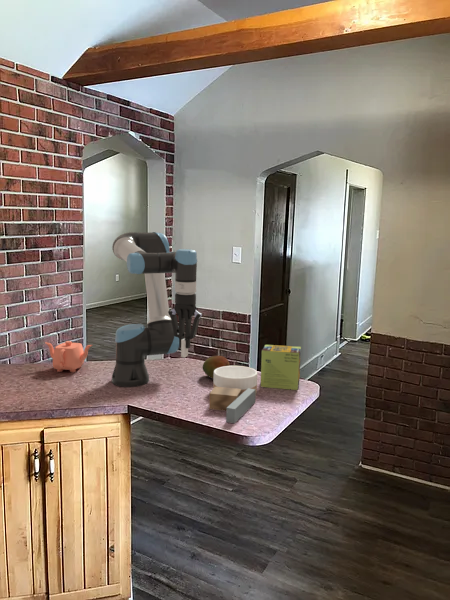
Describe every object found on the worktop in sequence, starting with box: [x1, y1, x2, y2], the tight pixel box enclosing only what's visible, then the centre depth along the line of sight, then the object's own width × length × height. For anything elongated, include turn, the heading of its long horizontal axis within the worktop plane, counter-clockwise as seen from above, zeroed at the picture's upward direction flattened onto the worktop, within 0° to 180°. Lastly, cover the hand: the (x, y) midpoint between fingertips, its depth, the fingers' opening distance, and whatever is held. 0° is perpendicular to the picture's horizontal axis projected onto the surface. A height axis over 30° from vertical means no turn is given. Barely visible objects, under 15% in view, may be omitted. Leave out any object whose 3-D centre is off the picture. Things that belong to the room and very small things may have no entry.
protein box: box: [260, 344, 302, 391], centre depth 212 cm, size 10×15×16 cm
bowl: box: [212, 365, 258, 395], centre depth 203 cm, size 17×17×8 cm
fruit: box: [202, 355, 231, 379], centre depth 220 cm, size 12×13×10 cm
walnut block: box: [208, 387, 242, 412], centre depth 187 cm, size 10×8×6 cm
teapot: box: [44, 340, 93, 373], centre depth 228 cm, size 15×17×13 cm
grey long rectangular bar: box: [225, 388, 257, 424], centre depth 182 cm, size 3×22×5 cm, turn 159°
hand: (184, 356), depth 189 cm, fingers closed
